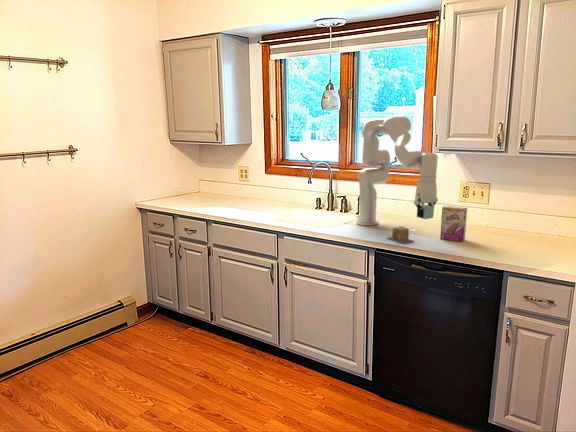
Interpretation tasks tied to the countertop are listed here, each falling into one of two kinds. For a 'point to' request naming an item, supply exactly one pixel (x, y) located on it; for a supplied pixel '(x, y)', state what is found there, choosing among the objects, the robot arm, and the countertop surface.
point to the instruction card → (411, 229)
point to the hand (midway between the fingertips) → (424, 216)
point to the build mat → (401, 241)
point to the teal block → (427, 212)
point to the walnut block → (400, 233)
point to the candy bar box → (453, 223)
